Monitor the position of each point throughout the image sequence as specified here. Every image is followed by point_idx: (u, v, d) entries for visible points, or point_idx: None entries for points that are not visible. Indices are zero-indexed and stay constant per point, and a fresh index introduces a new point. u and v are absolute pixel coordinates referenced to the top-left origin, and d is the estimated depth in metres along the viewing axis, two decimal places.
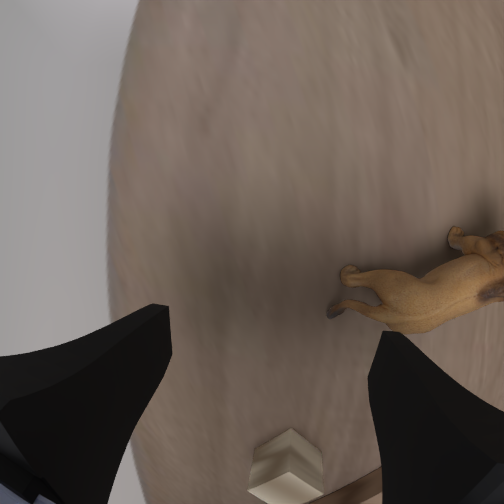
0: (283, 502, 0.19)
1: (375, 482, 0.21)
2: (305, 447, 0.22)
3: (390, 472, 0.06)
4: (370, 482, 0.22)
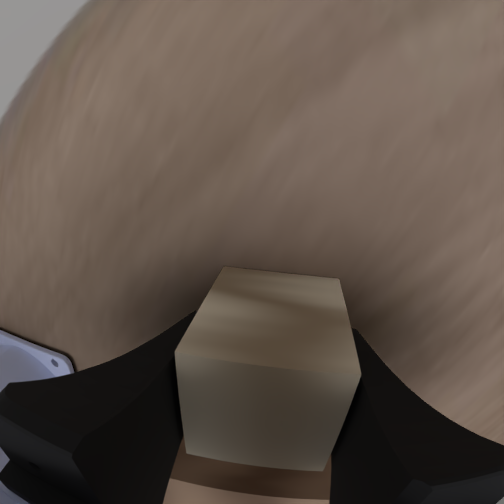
0: (221, 440, 0.07)
1: (327, 475, 0.13)
2: None
3: (336, 474, 0.07)
4: None
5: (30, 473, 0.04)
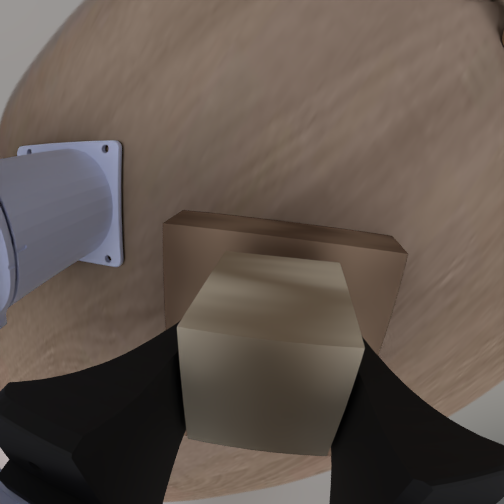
0: (223, 422, 0.08)
1: (356, 238, 0.16)
2: None
3: (336, 474, 0.07)
4: (346, 235, 0.16)
5: (30, 473, 0.04)
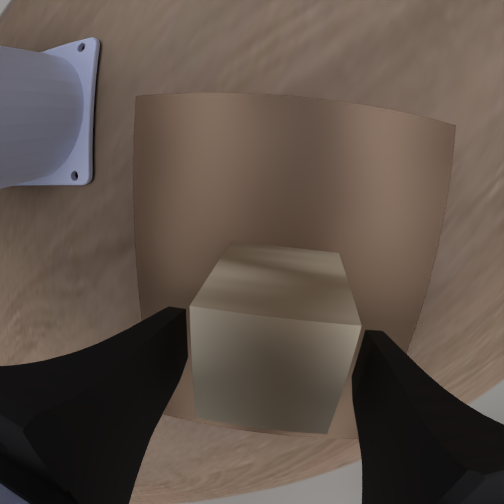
0: (229, 399, 0.08)
1: None
2: None
3: (369, 473, 0.07)
4: None
5: (0, 454, 0.04)
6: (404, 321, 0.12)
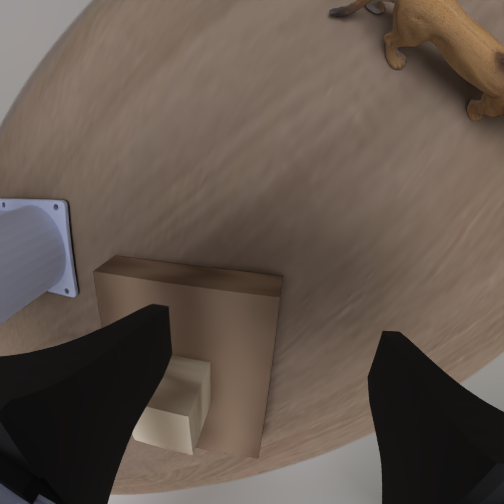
0: (146, 434, 0.17)
1: (241, 281, 0.20)
2: (206, 392, 0.20)
3: (390, 472, 0.06)
4: (234, 278, 0.20)
5: None
6: (258, 397, 0.21)
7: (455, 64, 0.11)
